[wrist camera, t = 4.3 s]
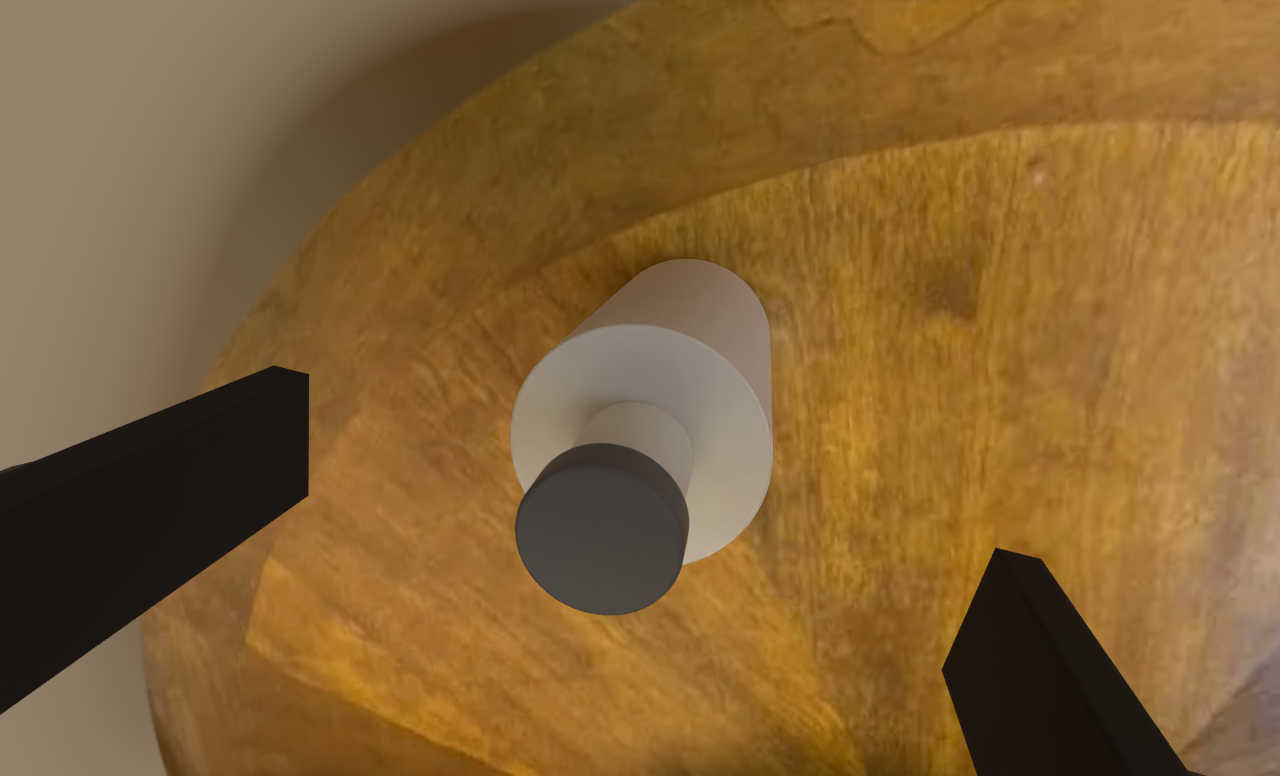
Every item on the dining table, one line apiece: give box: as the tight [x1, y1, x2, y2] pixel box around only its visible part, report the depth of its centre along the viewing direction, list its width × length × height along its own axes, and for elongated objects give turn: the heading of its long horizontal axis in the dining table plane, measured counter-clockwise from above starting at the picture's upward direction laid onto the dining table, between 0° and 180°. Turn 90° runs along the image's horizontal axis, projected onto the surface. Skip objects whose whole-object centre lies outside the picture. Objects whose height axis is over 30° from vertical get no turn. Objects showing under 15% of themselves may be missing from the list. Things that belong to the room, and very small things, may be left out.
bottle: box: [510, 259, 773, 615], centre depth 18 cm, size 6×6×14 cm
